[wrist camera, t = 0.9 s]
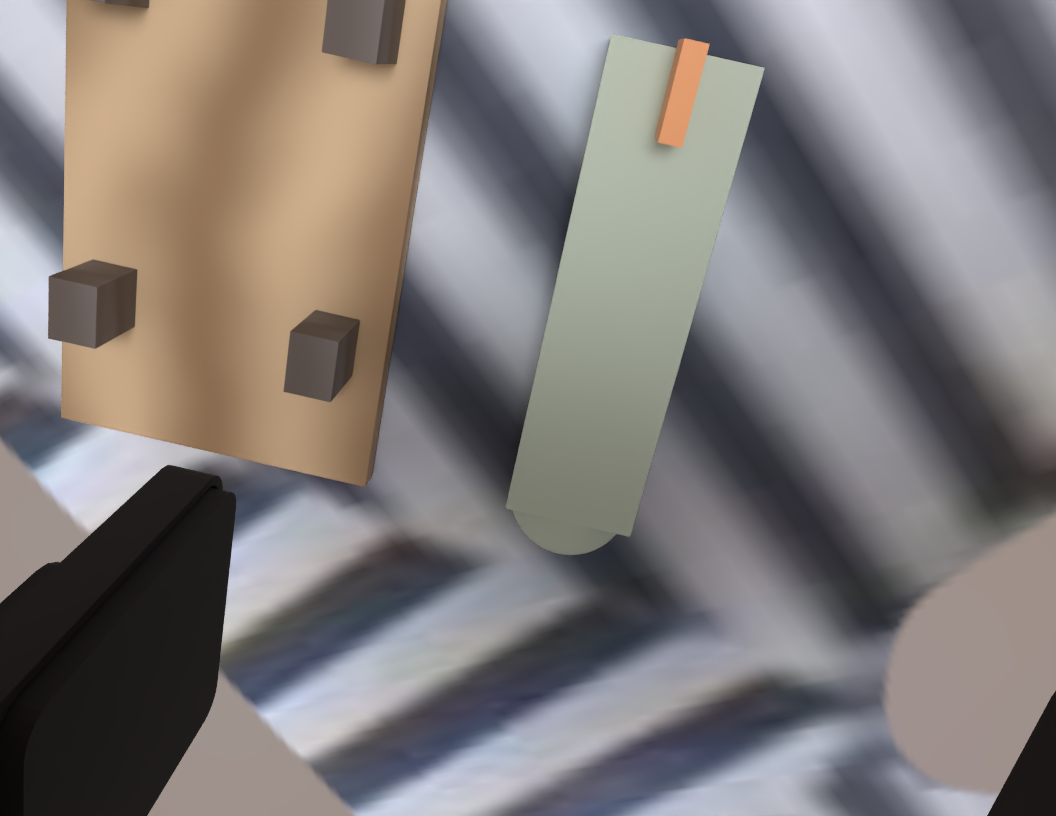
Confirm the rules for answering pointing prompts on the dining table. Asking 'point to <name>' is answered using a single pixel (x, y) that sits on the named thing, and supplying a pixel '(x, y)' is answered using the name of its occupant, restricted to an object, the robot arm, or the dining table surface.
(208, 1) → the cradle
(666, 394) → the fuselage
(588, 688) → the dining table surface
